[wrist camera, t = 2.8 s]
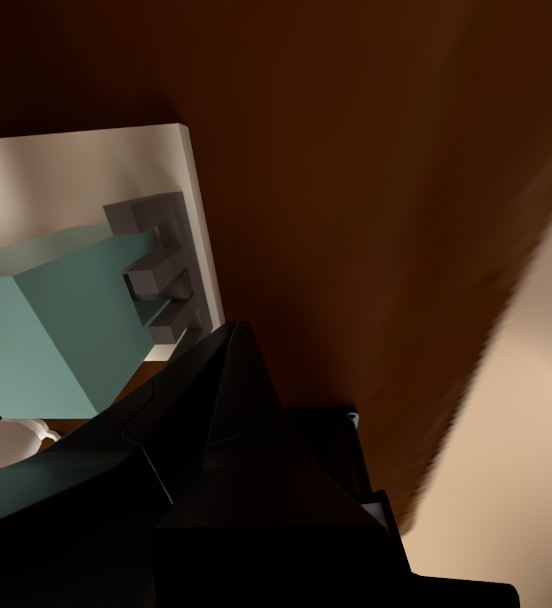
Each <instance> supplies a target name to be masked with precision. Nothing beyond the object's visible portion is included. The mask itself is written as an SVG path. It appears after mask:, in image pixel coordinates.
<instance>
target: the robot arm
mask: <svg viewBox="0 0 552 608" xmlns="http://www.w3.org/2000/svg"><path fill="white" fill-rule="evenodd" d="M358 418H359V415H358V412H357V410H355V409H287V410H285V409H284V407H283V405H282V403H281V402H280V400H279V398H278V395H277V393H276V391H275V388H274V386H273V383H272V380H271V378H270V375H269V372H268V370H267V367H266V364H265V361H264V359H263V356H262V353H261V350H260V347H259V345H258V342H257V339H256V336H255V334H254V331H253V328H252V325H251V322H250V321H239V322H237V321H227V322H225V323H224V324H222V325H221V326H220V327H218V328H217V329H216V330H214V331H213V332H212V333H210V334H209V335H208V336H206V337H205V338H204V339H202V340H201V341H200V342H198V343H197V344H196V345H194V346H193V347H191V348H190V349H189V350H187V351H186V352H185V353H183V354H182V355H181V356H179V357H178V358H177V359H175V360H174V361H173V362H171V363H170V364H169V365H167V366H166V367H164V368H163V369H162V370H160V371H159V372H158V373H156V374H155V375H154V376H153V377H152V378H150V379H148V380H147V381H146V382H144V383H143V384H141V385H140V386H139V387H137V388H136V389H135V390H133V391H132V392H130V393H129V394H128V395H126V396H125V397H123V398H122V399H120V400H119V401H117V402H116V403H114V404H113V405H111V406H110V407H108V408H107V409H105V410H104V411H102V412H101V413H99V414H98V415H96V416H95V417H93V418H91V419H90V420H88V421H87V422H85V423H84V424H82V425H81V426H79V427H77V428H76V429H74V430H73V431H71V432H70V433H68V434H67V435H65V436H64V437H62V438H60V439H59V440H57V441H56V442H54V443H53V444H51V445H50V446H48V447H46V448H45V449H43V450H41V451H40V452H38V453H36V454H34V455H32V456H30V457H28V458H26V459H24V460H21V461H19V462H17V463H14V464H11V465H8V466H6V467H3V468H0V608H520V601H519V595H518V593H517V591H516V589H515V587H514V586H513V585H511V584H505V583H495V582H483V581H471V580H461V579H450V578H438V577H426V576H420V575H417V574H415V573H413V572H411V569H410V565H409V562H408V559H407V556H406V553H405V550H404V547H403V544H402V541H401V537H400V534H399V531H398V528H397V525H396V522H395V519H394V516H393V513H392V510H391V507H390V503H389V500H388V497H387V494H386V491H385V490H377V492H373V491H372V487H371V483H370V480H369V476H368V472H367V468H366V464H365V460H364V456H363V453H362V449H361V445H360V441H359V437H358V433H357V425H358Z"/></svg>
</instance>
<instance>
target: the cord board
mask: <svg viewBox="0 0 552 608" xmlns="http://www.w3.org/2000/svg"><path fill="white" fill-rule="evenodd" d="M99 224H109V225H110V228H111V230H112V233H113V235H128V234H141V233H143V232H145V231H147V230H149V229H151V230H152V233H153V237H154V240H155V243H156V247H157V248H156V249H154V250H152V251H151V252H149V253H148V254H146V255H144V256H143V257H141V258H140V259H138V260H136V261H135V262H133V263H132V264H130V265H128V266H127V267H125V268H124V269H122V270H121V273H122V275H123V278H124V280H125V283H126V286H127V288H128V291H129V293H130V296H131V298H132V301H149V300H171V301H170V302H169V303H168V304H167V305H166V307H165V308H164V309H163V310H162V311H161V312H160V314H159V315H158V316H157V317H156V318H155V319H154V320H153V322H152V323H151V324H150V325H149V326H148V328H149V331H150V334H151V336H152V339H153V341H154V344H155V346H154V347H153V349H152V350H151V351H150V353H149V354H148V355H147V357H146V358H145V359H144V361H166V360H168V361H167V362H166V364H165V366H164V367H166V366H167V365H169V364H170V363H171V362H173V361H174V360H175V359H177V358H178V357H179V356H181V355H182V354H183V353H185V352H186V351H187V350H189V349H190V348H191V347H193V346H194V345H196V344H197V343H198V342H200V341H201V340H202V339H204V338H205V337H206V336H208V335H209V334H210V333H212V332H213V331H214V330H216V329H217V328H218V327H220V326H221V325H222V324H224V323H225V318H224V313H223V308H222V302H221V297H220V292H219V287H218V282H217V276H216V271H215V266H214V261H213V256H212V250H211V245H210V240H209V235H208V230H207V224H206V219H205V214H204V209H203V204H202V198H201V193H200V188H199V183H198V178H197V172H196V167H195V162H194V157H193V152H192V146H191V141H190V136H189V131H188V127H187V126H184V125H182V124H179V123H174V124H163V125H151V126H139V127H127V128H116V129H104V130H92V131H80V132H68V133H57V134H45V135H33V136H21V137H10V138H0V247H4V246H8V245H11V244H15V243H18V242H22V241H25V240H29V239H32V238H36V237H39V236H43V235H46V234H50V233H53V232H57V231H60V230H64V229H68V228H71V227H75V226H81V225H99ZM164 367H163V368H164Z"/></svg>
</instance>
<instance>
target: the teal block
mask: <svg viewBox="0 0 552 608" xmlns="http://www.w3.org/2000/svg"><path fill="white" fill-rule="evenodd" d="M156 248H157V247H156V243H155V240H154V237H153V233H152V230H151V229H149V230H147V231H145V232H143V233H141V234H128V235H113V233H112V230H111V228H110V225H109V224H99V225H81V226H75V227H71V228H68V229H64V230H60V231H57V232H53V233H50V234H46V235H43V236H39V237H36V238H32V239H29V240H25V241H22V242H18V243H15V244H11V245H8V246H4V247H0V416H1V417H2V418H3V419H66V418H93V417H95V416H96V415H98V414H99V413H101V412H102V411H104V410H105V409H107V408H108V407H110V405H111V404H112V402H113V401H114V400H115V398H116V397H117V396H118V394H119V393H120V392H121V390H122V389H123V388H124V386H125V385H126V384H127V382H128V381H129V380H130V378H131V377H132V376H133V374H134V373H135V372H136V370H137V369H138V367H139V366H140V365H141V363H142V362H143V361H144V359H145V358H146V357H147V355H148V354H149V353H150V351H151V350H152V349H153V347H154V346H155V344H154V341H153V339H152V336H151V334H150V331H149V328H148V326H149V325H150V324H151V323H152V322H153V320H154V319H155V318H156V317H157V316H158V315H159V314H160V312H161V311H162V310H163V309H164V308H165V307H166V305H167V304H168V303H169V302H170V301H171V300H149V301H132V298H131V296H130V293H129V291H128V288H127V286H126V283H125V280H124V278H123V275H122V273H121V270H122V269H124V268H125V267H127V266H128V265H130V264H132V263H133V262H135V261H136V260H138V259H140V258H141V257H143V256H144V255H146V254H148V253H149V252H151V251H152V250H154V249H156Z"/></svg>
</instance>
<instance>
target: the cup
mask: <svg viewBox="0 0 552 608" xmlns="http://www.w3.org/2000/svg"><path fill="white" fill-rule="evenodd" d="M45 437H50V438H53V439H54V440H55V441H57V440H59V439H60V438H61V437H60V436H59V435H58V433H57V432H55V431H52V430H49V428H48V427H47V425H46V423H45V422H44V421H43V420H41V419H3V418H2V419H1V421H0V468H3V467H6V466H8V465H11V464H14V463H17V462H19V461H21V460H24V459H26V458H28V457H30V456H32V455H34V454H36V452H37V450H38V449H39V447H40V445H41V440H42V439H44V438H45Z"/></svg>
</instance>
